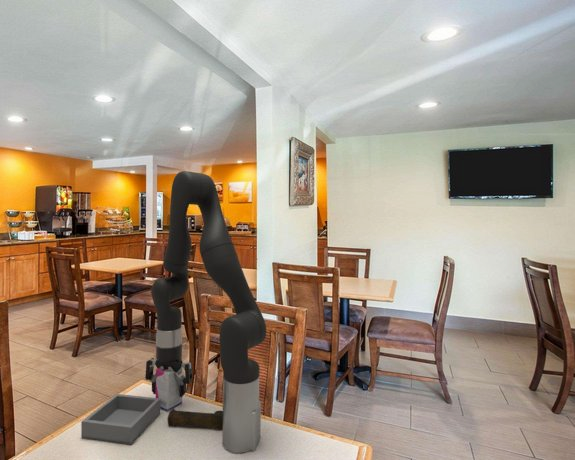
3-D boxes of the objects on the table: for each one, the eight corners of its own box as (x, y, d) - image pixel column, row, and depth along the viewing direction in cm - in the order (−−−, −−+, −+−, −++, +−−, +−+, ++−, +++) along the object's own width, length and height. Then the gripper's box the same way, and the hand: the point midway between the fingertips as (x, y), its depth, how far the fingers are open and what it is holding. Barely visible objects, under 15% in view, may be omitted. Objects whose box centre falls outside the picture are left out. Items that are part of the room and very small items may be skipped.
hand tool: (166, 428, 93) (166, 411, 93) (172, 419, 97) (173, 403, 97) (232, 436, 90) (233, 419, 90) (237, 427, 94) (237, 410, 94)
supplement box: (183, 402, 106) (183, 366, 105) (167, 412, 101) (167, 373, 100) (170, 397, 109) (170, 362, 108) (154, 406, 104) (154, 369, 103)
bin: (160, 413, 100) (160, 398, 99) (131, 445, 86) (131, 427, 86) (116, 408, 102) (116, 393, 102) (81, 438, 88) (81, 421, 88)
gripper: (196, 339, 106) (196, 390, 107) (154, 336, 109) (154, 386, 109) (185, 348, 99) (185, 403, 100) (140, 344, 101) (140, 398, 102)
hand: (168, 394), depth 104 cm, fingers open, 8 cm apart
